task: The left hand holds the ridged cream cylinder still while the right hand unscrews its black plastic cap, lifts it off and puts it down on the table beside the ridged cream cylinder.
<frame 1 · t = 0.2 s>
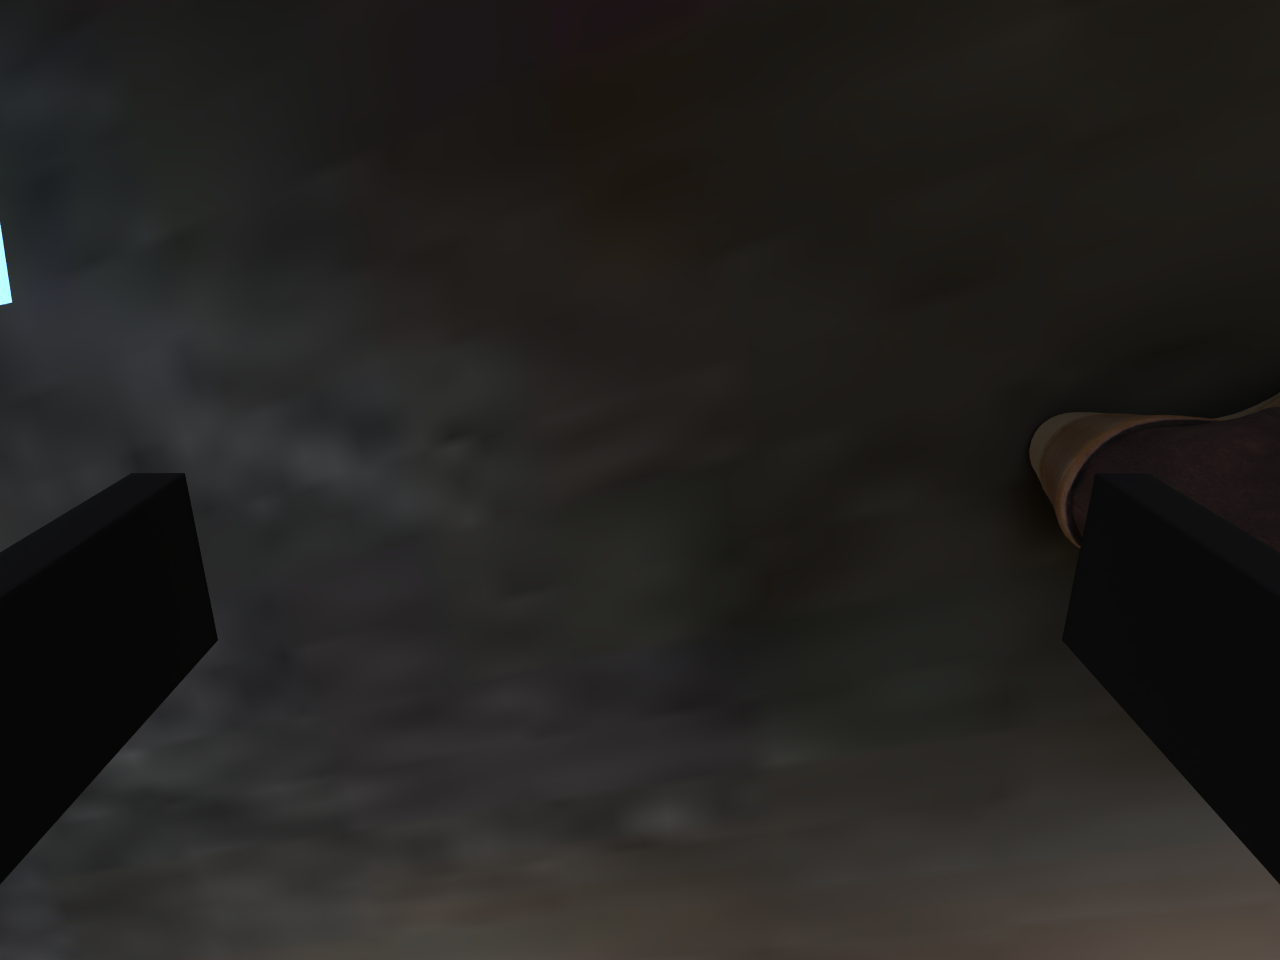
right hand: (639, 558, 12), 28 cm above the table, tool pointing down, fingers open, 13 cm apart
boot: (1242, 442, 41), on the table
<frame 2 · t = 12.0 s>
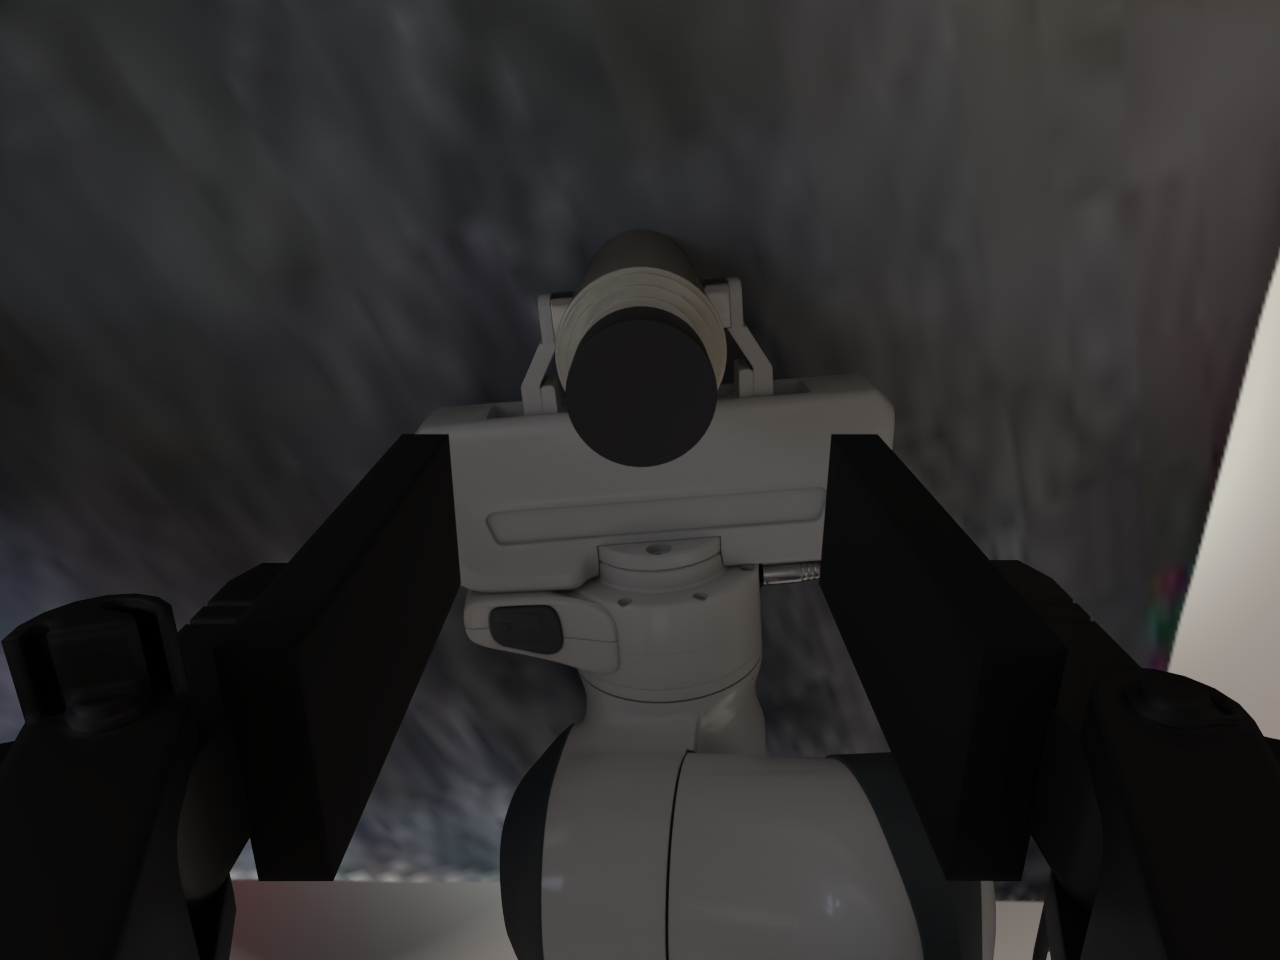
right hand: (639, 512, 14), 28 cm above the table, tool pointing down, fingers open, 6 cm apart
left hand: (637, 286, 34), fingers closed on ridged cream cylinder, 5 cm apart
cap: (641, 392, 22), point 20 cm above the table, screwed on, not yet turned
ridged cream cylinder: (640, 287, 41), on the table, touching left hand
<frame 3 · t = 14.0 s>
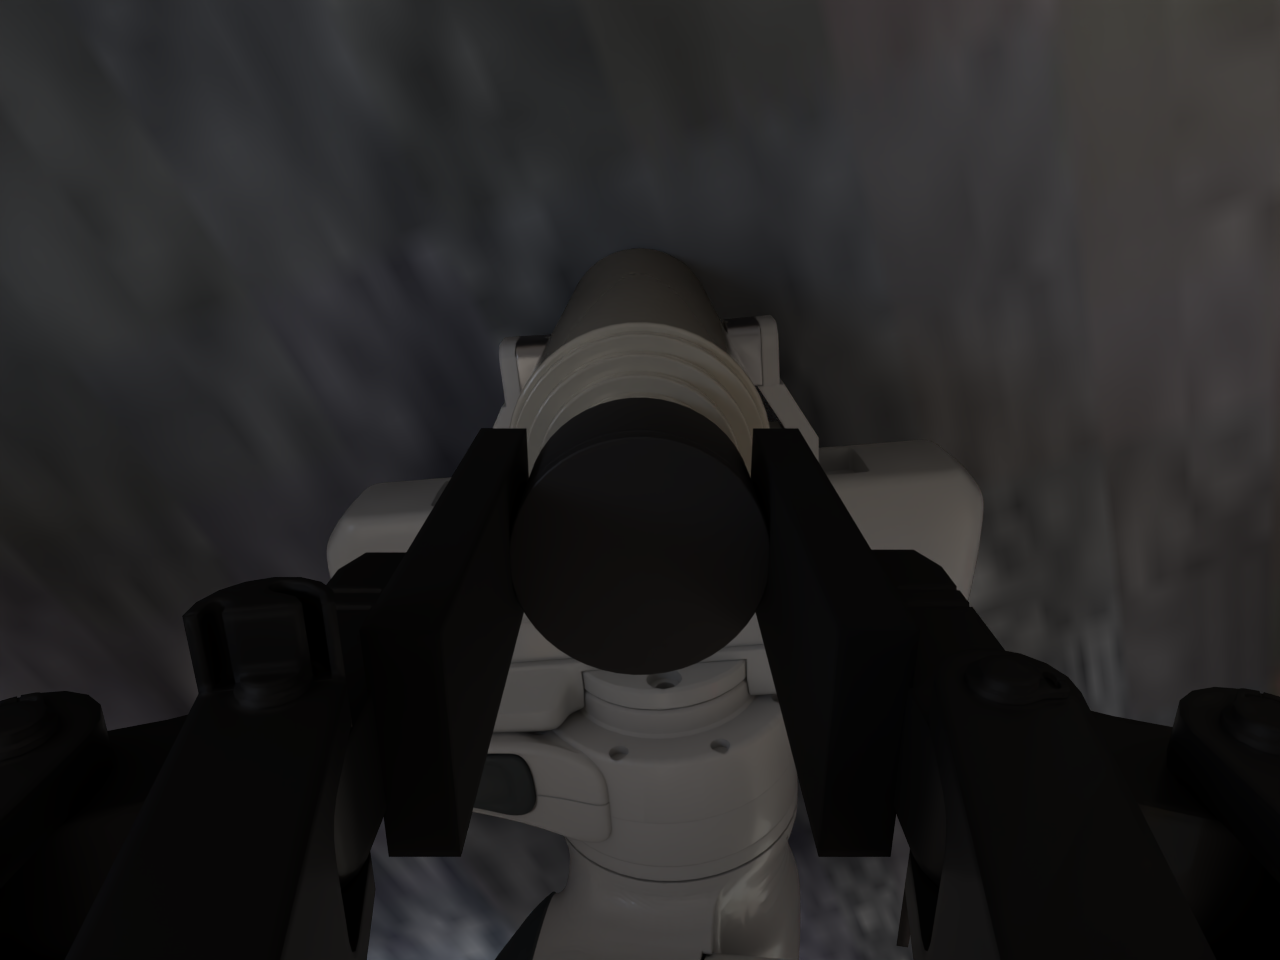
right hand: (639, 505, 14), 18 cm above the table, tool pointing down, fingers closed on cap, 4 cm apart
cap: (639, 554, 13), point 20 cm above the table, screwed on, not yet turned, touching right hand
ridged cream cylinder: (639, 321, 32), on the table, touching left hand
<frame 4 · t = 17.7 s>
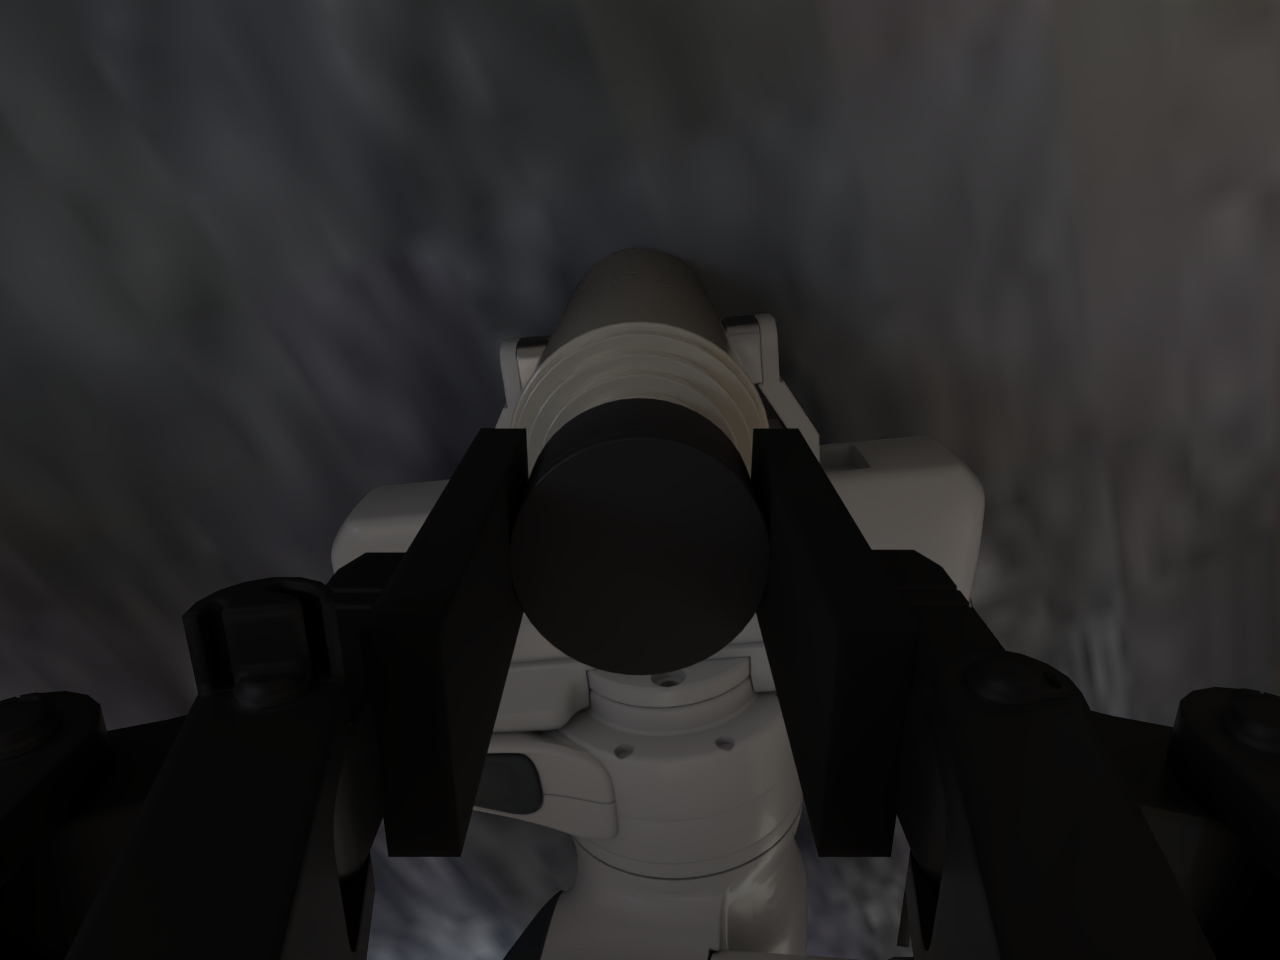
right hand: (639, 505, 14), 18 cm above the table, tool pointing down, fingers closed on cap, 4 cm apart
cap: (639, 554, 13), point 20 cm above the table, turned 124° so far, risen 0.1 cm, still on its thread, touching right hand
ridged cream cylinder: (639, 321, 32), on the table, touching left hand
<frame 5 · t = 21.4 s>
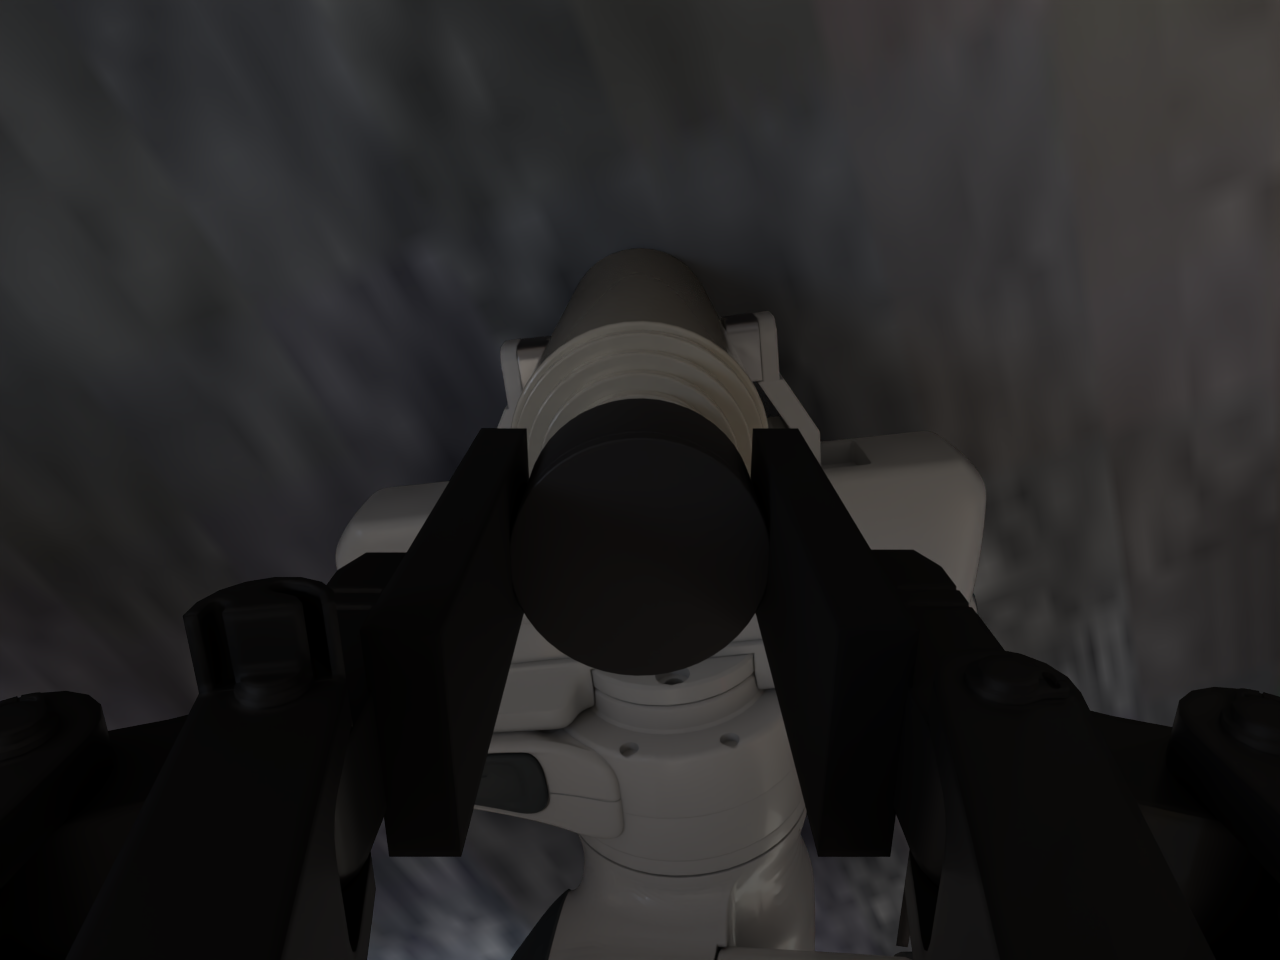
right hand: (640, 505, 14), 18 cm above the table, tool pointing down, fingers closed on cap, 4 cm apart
cap: (639, 554, 13), point 20 cm above the table, turned 247° so far, risen 0.2 cm, still on its thread, touching right hand
ridged cream cylinder: (639, 320, 32), on the table, touching left hand
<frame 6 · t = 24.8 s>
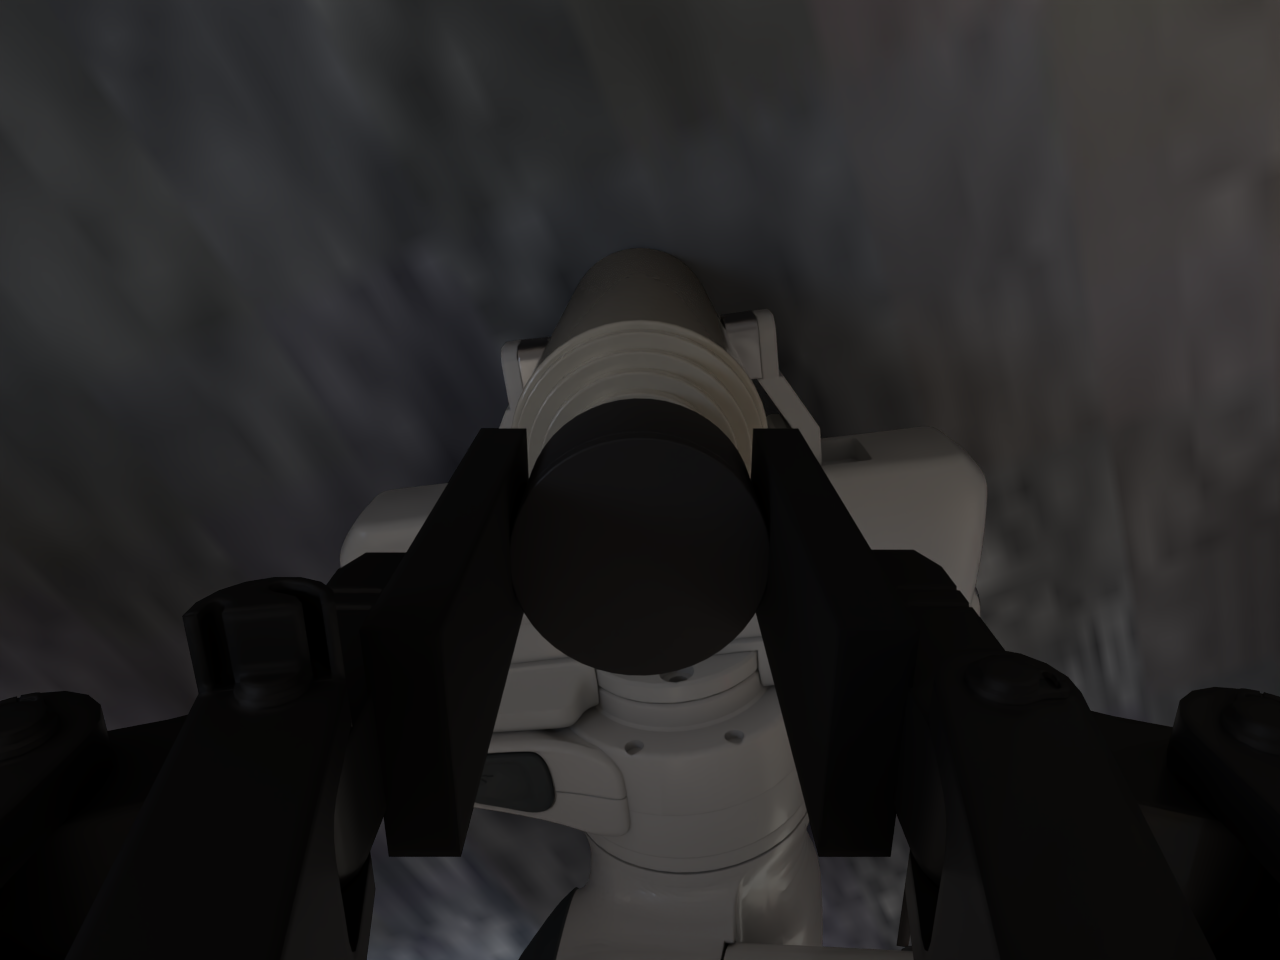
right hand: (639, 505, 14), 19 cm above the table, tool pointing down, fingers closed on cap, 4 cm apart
cap: (639, 554, 13), point 21 cm above the table, turned 370° so far, risen 0.3 cm, still on its thread, touching right hand
ridged cream cylinder: (639, 320, 32), on the table, touching left hand
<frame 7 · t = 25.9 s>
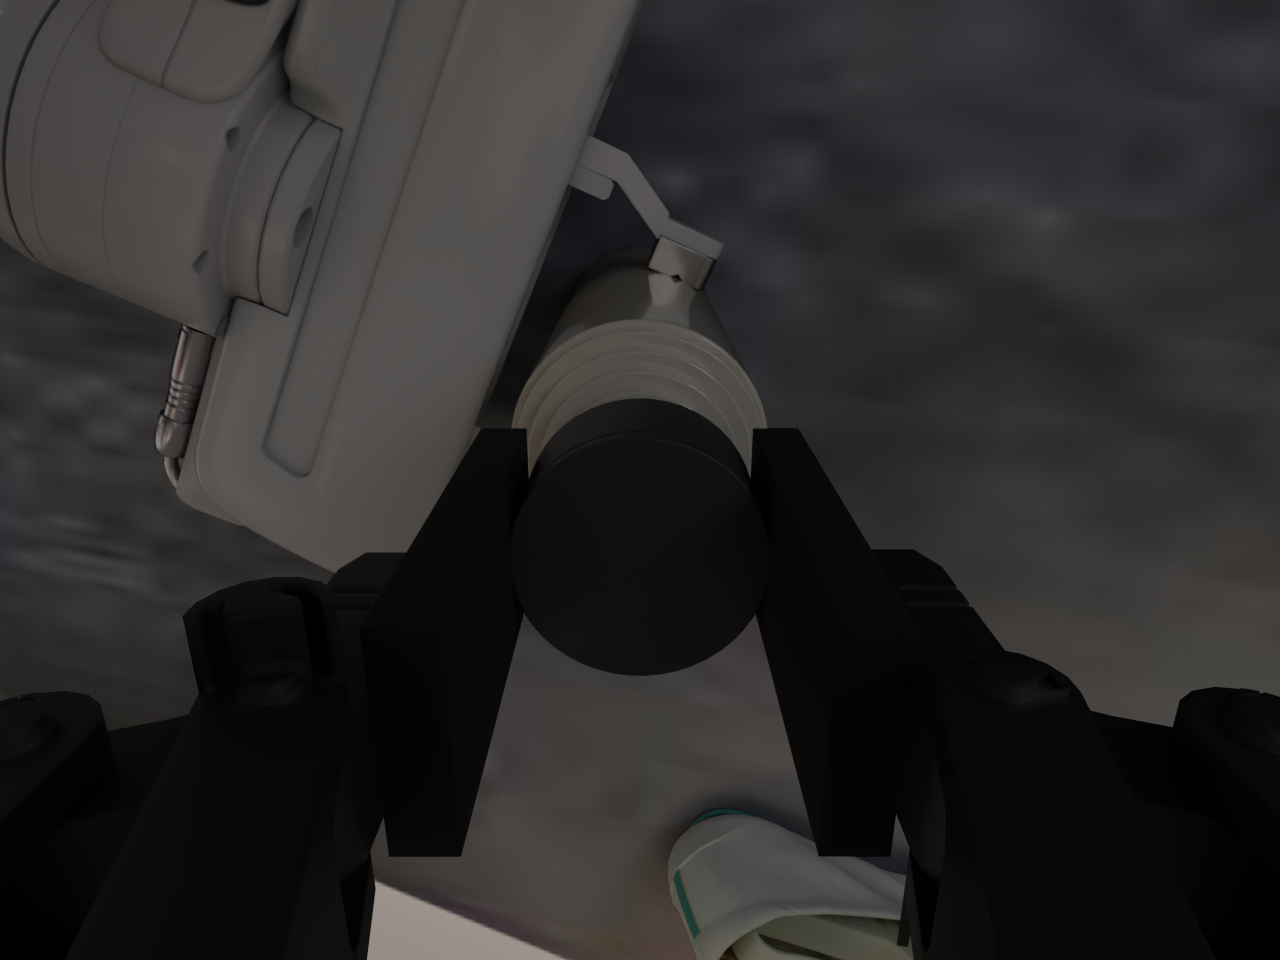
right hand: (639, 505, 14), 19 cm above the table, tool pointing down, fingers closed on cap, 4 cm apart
left hand: (666, 366, 26), fingers closed on ridged cream cylinder, 5 cm apart
cap: (639, 554, 13), point 21 cm above the table, off its thread, touching right hand
ridged cream cylinder: (639, 319, 32), on the table, touching left hand
ballet flat: (896, 898, 42), on the table
when the right hand's fingers open (1 cm above the table, at t = 31.9 s): cap drops 1 cm, point 2 cm above the table.
when the left hand's fingers open (7 cm above the table, at t = 33.2 s): ridged cream cylinder stays where it is, on the table.
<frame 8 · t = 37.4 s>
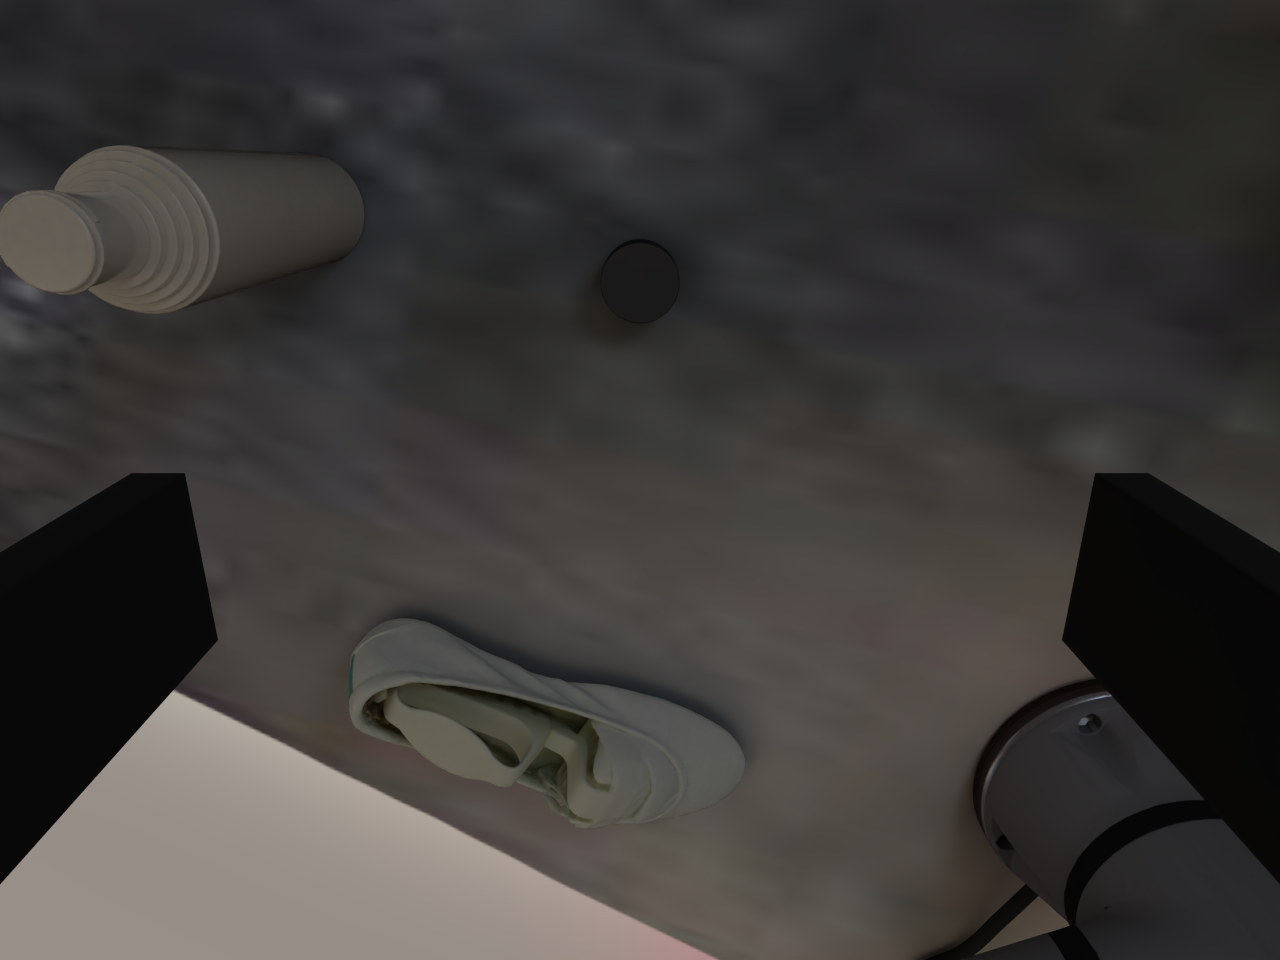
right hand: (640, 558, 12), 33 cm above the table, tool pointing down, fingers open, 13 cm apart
cap: (640, 282, 41), point 2 cm above the table, off its thread
ridged cream cylinder: (311, 209, 42), on the table
ballet flat: (554, 705, 52), on the table
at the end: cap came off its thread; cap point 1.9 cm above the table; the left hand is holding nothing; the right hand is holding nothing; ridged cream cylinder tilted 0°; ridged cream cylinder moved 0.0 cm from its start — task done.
